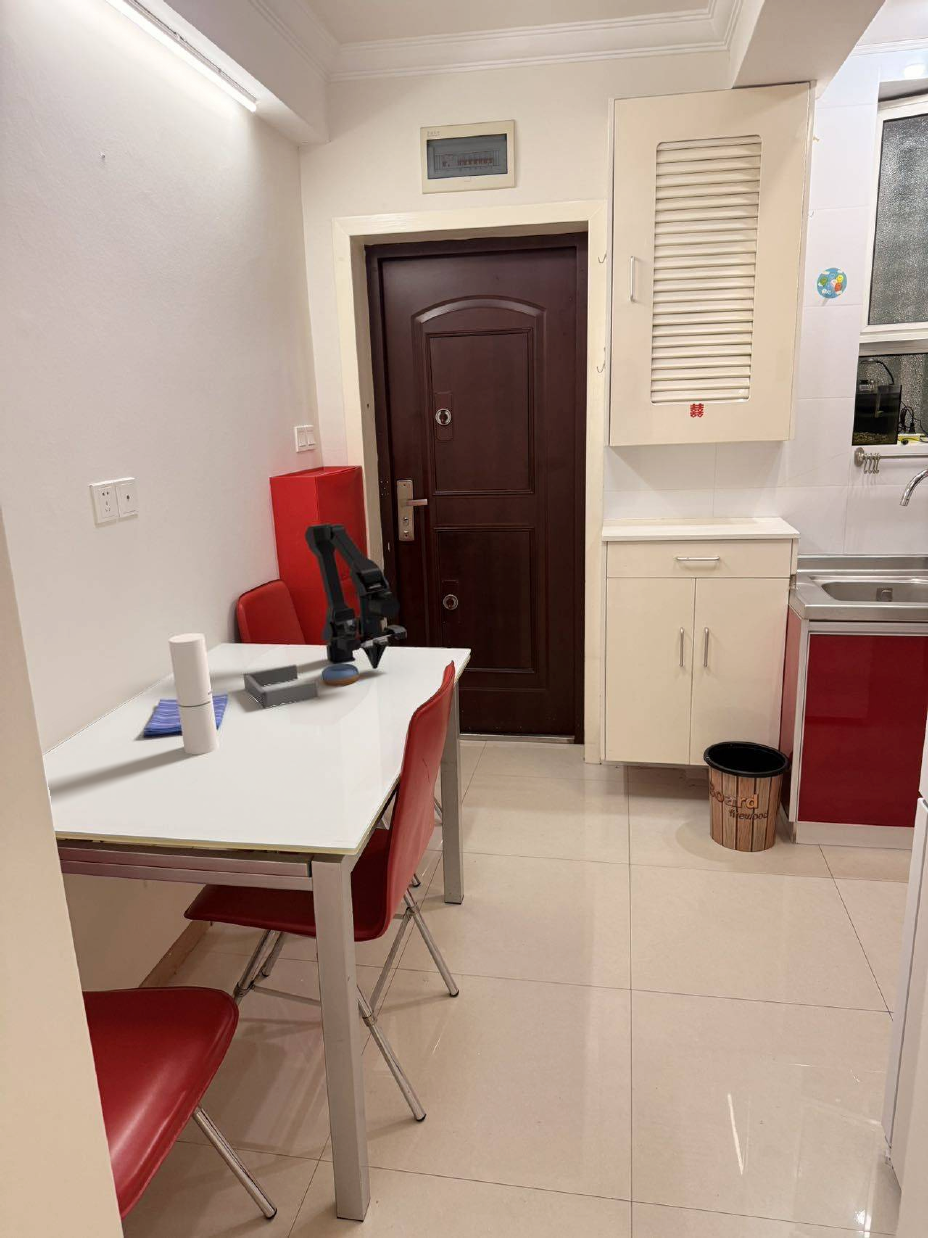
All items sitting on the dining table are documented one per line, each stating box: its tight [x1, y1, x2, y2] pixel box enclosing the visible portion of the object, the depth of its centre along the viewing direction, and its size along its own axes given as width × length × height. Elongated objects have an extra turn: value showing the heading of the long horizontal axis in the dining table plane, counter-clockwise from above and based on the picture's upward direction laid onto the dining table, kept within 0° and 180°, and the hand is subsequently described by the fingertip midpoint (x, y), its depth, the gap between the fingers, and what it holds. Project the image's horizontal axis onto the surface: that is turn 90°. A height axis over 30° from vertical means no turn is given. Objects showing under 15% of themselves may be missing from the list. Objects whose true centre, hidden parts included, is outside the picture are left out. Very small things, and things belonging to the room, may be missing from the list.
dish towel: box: [142, 694, 229, 739], centre depth 204 cm, size 17×24×3 cm
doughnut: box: [320, 663, 360, 687], centre depth 225 cm, size 10×10×5 cm
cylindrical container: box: [168, 632, 220, 755], centre depth 181 cm, size 7×7×25 cm
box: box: [243, 664, 319, 709], centre depth 217 cm, size 14×18×4 cm
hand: (374, 668), depth 229 cm, fingers closed
